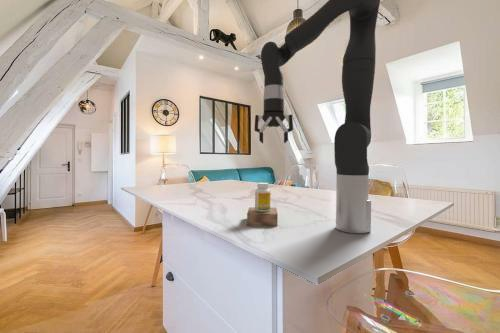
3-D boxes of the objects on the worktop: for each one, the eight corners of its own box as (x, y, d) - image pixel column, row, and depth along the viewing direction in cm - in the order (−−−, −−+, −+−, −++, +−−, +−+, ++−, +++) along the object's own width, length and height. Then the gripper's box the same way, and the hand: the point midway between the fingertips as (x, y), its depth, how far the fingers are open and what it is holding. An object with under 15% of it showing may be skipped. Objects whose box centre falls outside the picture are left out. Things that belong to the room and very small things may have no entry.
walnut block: (276, 218, 87) (276, 207, 86) (277, 226, 77) (277, 214, 76) (249, 217, 87) (249, 207, 87) (247, 225, 77) (247, 213, 77)
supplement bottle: (252, 210, 82) (252, 183, 82) (263, 208, 86) (263, 182, 85) (262, 212, 78) (262, 184, 78) (273, 210, 81) (273, 183, 81)
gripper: (291, 101, 91) (291, 143, 91) (255, 102, 91) (255, 143, 92) (294, 96, 83) (293, 142, 84) (254, 97, 84) (254, 142, 84)
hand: (273, 143), depth 88 cm, fingers open, 8 cm apart
